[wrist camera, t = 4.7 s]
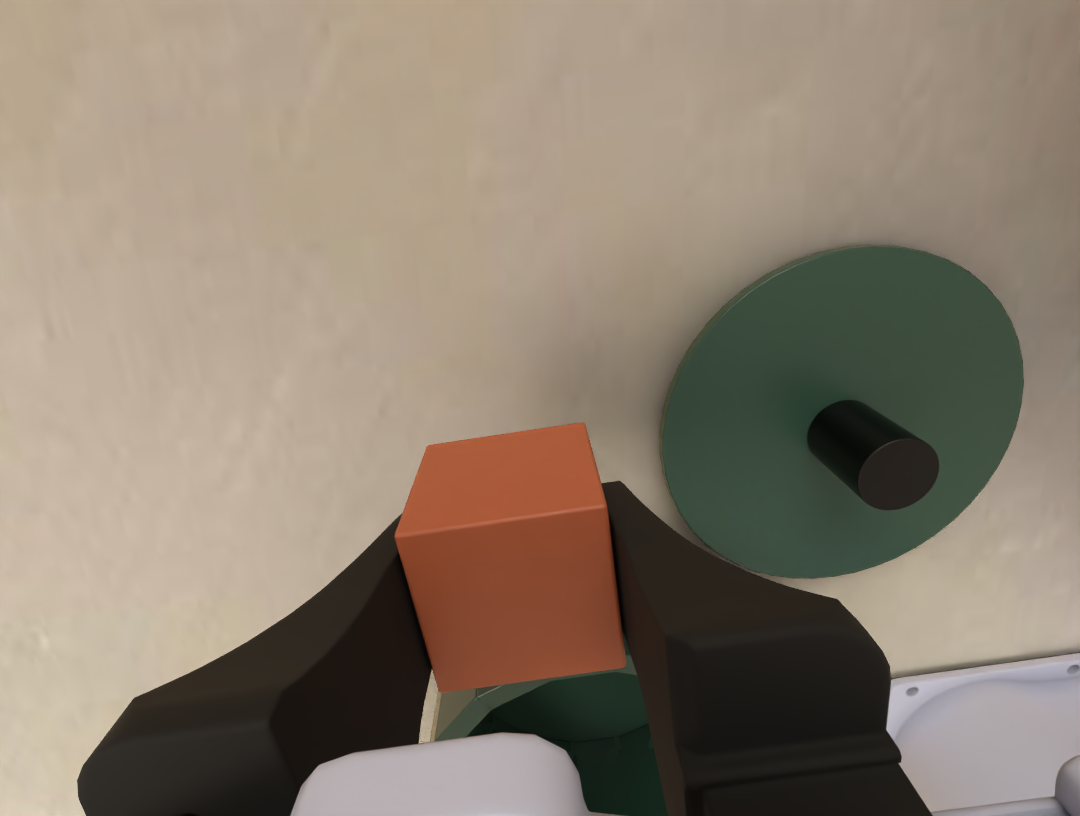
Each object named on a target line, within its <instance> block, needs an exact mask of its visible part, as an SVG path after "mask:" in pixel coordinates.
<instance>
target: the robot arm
mask: <svg viewBox="0 0 1080 816" xmlns="http://www.w3.org/2000/svg"><path fill="white" fill-rule="evenodd" d="M601 484H602V488H603V492H604V496H605V499H606V503H607V507H608V516H609V524H610V532H611V540H612V548H613V557H614V565H615V573H616V581H617V589H618V598H619V606H620V614H621V622H622V630H623V633H624V636H625V639H626V642H627V645H628V648H629V651H630V655H631V658H632V661H633V664H634V667H635V670H636V673H637V677H638V680H639V684H640V688H641V691H642V696H643V701H644V705H645V710H646V714H647V719H648V723H649V728H650V733H651V737H652V742H653V747H654V751H655V756H656V761H657V765H658V770H659V775H660V779H661V784H662V789H663V794H664V799H665V804H666V808H667V813H668V816H1080V653H1075V654H1068V655H1061V656H1054V657H1046V658H1039V659H1032V660H1025V661H1017V662H1010V663H1003V664H996V665H989V666H981V667H974V668H967V669H960V670H952V671H945V672H938V673H931V674H923V675H916V676H909V677H902V678H895V679H892V680H891V675H890V666H889V664H888V661H887V659H886V657H885V655H884V653H883V651H882V650H881V648H880V647H879V646H878V645H877V643H876V642H875V641H874V639H873V638H872V637H871V636H870V634H869V633H868V632H867V631H866V629H865V628H864V627H863V626H862V625H861V624H860V623H859V621H858V620H857V619H856V618H855V617H854V616H853V615H852V614H851V613H850V612H849V611H848V610H847V609H846V608H845V607H844V606H843V605H842V604H841V603H840V601H839V600H837V599H834V598H830V597H826V596H822V595H818V594H814V593H810V592H806V591H803V590H799V589H795V588H791V587H788V586H785V585H782V584H779V583H776V582H773V581H771V580H768V579H765V578H762V577H760V576H757V575H754V574H752V573H749V572H747V571H745V570H742V569H740V568H738V567H736V566H734V565H732V564H729V563H727V562H725V561H723V560H721V559H719V558H717V557H715V556H713V555H712V554H710V553H708V552H706V551H705V550H703V549H701V548H700V547H698V546H696V545H694V544H693V543H691V542H690V541H688V540H687V539H685V538H684V537H682V536H681V535H680V534H678V533H677V532H676V531H674V530H673V529H672V528H670V527H669V526H668V525H667V524H665V523H664V522H663V521H662V520H661V519H660V518H658V517H657V516H656V515H655V514H654V513H653V512H651V511H650V510H649V509H648V508H647V507H646V506H645V505H644V504H643V503H642V502H641V501H640V500H639V499H638V498H637V497H636V496H635V495H634V494H633V493H632V492H631V491H630V490H629V489H628V488H627V487H626V486H625V485H624V484H623V483H622V482H620V481H615V482H608V483H601ZM401 516H402V514H401V515H400V516H399V517H398V518H397V519H396V520H395V521H394V522H392V524H391V525H390V526H389V527H388V528H387V529H386V530H385V531H384V532H383V533H382V534H381V535H380V536H379V537H378V538H377V539H376V540H375V541H374V542H373V543H372V544H371V545H370V546H369V547H368V548H367V549H366V550H365V551H364V552H363V553H362V554H361V555H360V556H359V557H358V558H357V559H356V560H355V561H353V562H352V563H351V564H350V565H349V566H348V567H347V568H346V569H345V570H344V571H342V572H341V573H340V574H339V575H338V576H337V577H336V578H335V579H334V580H332V581H331V582H330V583H329V584H328V585H327V586H326V587H324V588H323V589H322V590H321V591H320V592H318V593H317V594H316V595H315V596H313V597H312V598H311V599H310V600H308V601H307V602H306V603H304V604H303V605H302V606H300V607H299V608H298V609H296V610H295V611H294V612H292V613H291V614H289V615H288V616H287V617H285V618H284V619H282V620H280V621H279V622H277V623H276V624H274V625H273V626H271V627H270V628H268V629H267V630H265V631H263V632H262V633H260V634H259V635H257V636H256V637H254V638H253V639H251V640H250V641H248V642H246V643H244V644H243V645H241V646H239V647H237V648H236V649H234V650H232V651H230V652H229V653H227V654H225V655H223V656H221V657H220V658H218V659H216V660H214V661H212V662H210V663H208V664H206V665H204V666H203V667H201V668H199V669H197V670H195V671H193V672H191V673H188V674H186V675H184V676H182V677H180V678H178V679H175V680H173V681H171V682H169V683H167V684H164V685H162V686H160V687H158V688H156V689H154V690H151V691H149V692H147V693H145V694H142V695H140V696H138V697H135V698H134V699H133V700H132V701H131V703H130V704H129V705H128V707H127V708H126V709H125V711H124V712H123V713H122V715H121V716H120V717H119V719H118V720H117V721H116V723H115V724H114V725H113V727H112V728H111V729H110V731H109V732H108V733H107V734H106V736H105V737H104V738H103V740H102V741H101V742H100V744H99V745H98V746H97V748H96V749H95V750H94V752H93V753H92V754H91V756H90V757H89V758H88V760H87V761H86V762H85V764H84V765H83V767H82V770H81V772H80V775H79V777H78V780H77V783H78V797H79V800H80V803H81V805H82V807H83V809H84V812H85V814H86V816H623V815H614V814H605V813H595V812H589V810H588V809H587V806H586V804H585V801H584V799H583V793H582V787H581V782H580V776H579V772H578V770H577V769H576V767H575V765H574V764H573V762H572V760H571V759H570V757H569V755H568V754H567V752H566V750H564V749H562V748H560V747H558V746H556V745H554V744H552V743H550V742H549V741H547V740H545V739H543V738H541V737H539V736H537V735H535V734H521V733H503V732H502V733H494V734H487V735H480V736H472V737H465V738H457V739H450V740H443V741H435V742H428V743H421V744H418V742H419V733H420V725H421V718H422V712H423V706H424V701H425V696H426V692H427V688H428V683H429V679H430V674H431V670H432V666H431V663H430V659H429V656H428V652H427V649H426V645H425V642H424V638H423V635H422V631H421V628H420V624H419V621H418V617H417V614H416V610H415V607H414V603H413V600H412V596H411V593H410V589H409V586H408V583H407V579H406V576H405V572H404V569H403V565H402V562H401V558H400V555H399V551H398V548H397V544H396V541H395V533H396V530H397V527H398V524H399V522H400V519H401Z"/></svg>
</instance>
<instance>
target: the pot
mask: <svg viewBox="0 0 1080 816" xmlns="http://www.w3.org/2000/svg"><path fill="white" fill-rule="evenodd" d="M622 631H623V630H622ZM623 639H624V647H625V655H626V666H625V667H624V668H620V669H613V670H605V671H598V672H591V673H584V674H576V675H569V676H562V677H555V678H547V679H540V680H533V681H526V682H518V683H511V684H504V685H497V686H489V687H482V688H475V689H468V690H460V691H453V692H446V693H441V692H439V690H438V694H437V700H436V707H435V713H434V719H433V725H432V731H431V737H430V742H435V741H443V740H450V739H457V738H465V737H472V736H480V735H487V734H494V733H502V732H503V733H521V734H535V735H537V736H539V737H541V738H543V739H545V740H547V741H549V742H550V743H552V744H554V745H556V746H558V747H560V748H562V749H564V750H566V752H567V754H568V755H569V757H570V759H571V760H572V762H573V764H574V765H575V767H576V769H577V770H578V772H579V776H580V782H581V787H582V793H583V799H584V801H585V804H586V806H587V809H588V810H589V812H595V813H605V814H614V815H623V816H668V813H667V808H666V804H665V799H664V794H663V789H662V784H661V779H660V775H659V770H658V765H657V761H656V756H655V751H654V747H653V742H652V737H651V733H650V728H649V723H648V719H647V714H646V710H645V705H644V701H643V696H642V691H641V688H640V684H639V680H638V677H637V673H636V670H635V667H634V664H633V661H632V658H631V655H630V651H629V648H628V645H627V642H626V639H625V636H624V633H623Z"/></svg>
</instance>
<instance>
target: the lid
mask: <svg viewBox="0 0 1080 816" xmlns="http://www.w3.org/2000/svg"><path fill="white" fill-rule="evenodd" d="M1023 385H1024V378H1023V360H1022V355H1021V350H1020V345H1019V340H1018V338H1017V335H1016V332H1015V330H1014V327H1013V324H1012V322H1011V320H1010V318H1009V316H1008V315H1007V313H1006V311H1005V310H1004V308H1003V306H1002V304H1001V303H1000V301H999V300H998V299H997V298H996V297H995V296H994V295H993V293H992V292H991V291H990V290H989V289H988V288H987V286H986V285H985V284H983V283H982V282H981V281H980V280H978V279H977V278H976V277H975V276H974V275H972V274H971V273H970V272H969V271H967V270H965V269H964V268H962V267H960V266H958V265H956V264H955V263H953V262H951V261H949V260H947V259H944V258H942V257H939V256H936V255H933V254H931V253H928V252H924V251H919V250H914V249H909V248H904V247H898V246H887V245H859V246H848V247H841V248H836V249H832V250H827V251H823V252H818V253H815V254H812V255H809V256H806V257H804V258H801V259H798V260H795V261H792V262H790V263H788V264H786V265H784V266H782V267H780V268H778V269H776V270H774V271H772V272H770V273H768V274H766V275H765V276H763V277H762V278H760V279H759V280H757V281H756V282H754V283H753V284H751V285H750V286H748V287H747V288H745V289H744V290H742V291H741V292H740V293H739V294H738V295H736V296H735V297H734V298H733V299H732V300H730V301H729V302H728V303H727V304H726V305H724V306H723V307H722V308H721V310H720V311H719V312H718V313H717V314H716V315H715V316H714V317H713V318H712V319H711V320H710V321H709V322H708V323H707V324H706V325H705V327H704V328H703V329H702V331H701V332H700V333H699V335H698V336H697V337H696V339H695V340H694V341H693V343H692V344H691V345H690V347H689V349H688V351H687V352H686V354H685V356H684V357H683V359H682V361H681V363H680V364H679V366H678V368H677V371H676V373H675V375H674V378H673V380H672V382H671V385H670V387H669V390H668V394H667V397H666V401H665V404H664V408H663V413H662V420H661V427H660V456H661V463H662V469H663V474H664V477H665V480H666V484H667V487H668V490H669V492H670V495H671V497H672V499H673V501H674V503H675V505H676V507H677V509H678V511H679V513H680V514H681V516H682V517H683V519H684V520H685V522H686V523H687V524H688V526H689V527H690V529H691V530H692V531H693V532H694V533H695V534H696V535H697V536H698V537H699V538H700V539H701V540H702V541H703V542H704V543H705V544H706V545H708V546H709V547H710V548H712V549H713V550H714V551H715V552H717V553H718V554H720V555H721V556H723V557H725V558H727V559H728V560H730V561H732V562H734V563H736V564H738V565H741V566H743V567H746V568H748V569H751V570H753V571H757V572H761V573H764V574H768V575H772V576H780V577H787V578H810V579H813V578H824V577H834V576H840V575H845V574H850V573H855V572H858V571H861V570H865V569H868V568H871V567H875V566H877V565H880V564H882V563H885V562H887V561H890V560H892V559H894V558H897V557H899V556H901V555H902V554H904V553H906V552H908V551H910V550H912V549H914V548H916V547H917V546H919V545H920V544H922V543H923V542H925V541H927V540H928V539H930V538H931V537H933V536H934V535H936V534H937V533H938V532H939V531H941V530H942V529H943V528H944V527H946V526H947V525H948V524H949V523H951V522H952V521H953V520H954V519H955V518H956V517H957V516H958V515H959V514H960V513H961V512H962V511H963V510H964V509H965V508H966V507H968V506H969V505H970V503H971V502H972V501H973V500H974V499H975V497H976V496H977V495H978V494H979V493H980V492H981V490H982V489H983V488H984V487H985V485H986V484H987V482H988V481H989V479H990V478H991V476H992V475H993V473H994V472H995V470H996V469H997V467H998V466H999V464H1000V462H1001V460H1002V458H1003V456H1004V454H1005V452H1006V450H1007V448H1008V446H1009V444H1010V441H1011V438H1012V436H1013V433H1014V431H1015V428H1016V425H1017V421H1018V417H1019V413H1020V408H1021V404H1022V394H1023Z"/></svg>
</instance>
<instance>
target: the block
mask: <svg viewBox="0 0 1080 816" xmlns="http://www.w3.org/2000/svg"><path fill="white" fill-rule="evenodd" d="M395 541H396V544H397V548H398V551H399V555H400V558H401V562H402V565H403V569H404V572H405V576H406V579H407V583H408V586H409V589H410V593H411V596H412V600H413V603H414V607H415V610H416V614H417V617H418V621H419V624H420V628H421V631H422V635H423V638H424V642H425V645H426V649H427V652H428V656H429V659H430V663H431V666H432V669H433V673H434V676H435V680H436V683H437V687H438V690H439V692H441V693H446V692H453V691H460V690H468V689H475V688H482V687H489V686H497V685H504V684H511V683H518V682H526V681H533V680H540V679H547V678H555V677H562V676H569V675H576V674H584V673H591V672H598V671H605V670H613V669H620V668H624V667H625V666H626V655H625V647H624V639H623V631H622V622H621V614H620V606H619V598H618V589H617V581H616V573H615V565H614V557H613V548H612V540H611V532H610V524H609V516H608V507H607V503H606V499H605V496H604V492H603V488H602V484H601V481H600V477H599V473H598V470H597V466H596V462H595V459H594V455H593V451H592V447H591V444H590V440H589V436H588V433H587V429H586V425H585V424H584V423H574V424H568V425H561V426H554V427H548V428H541V429H534V430H527V431H521V432H514V433H507V434H501V435H494V436H487V437H481V438H474V439H467V440H460V441H454V442H447V443H440V444H434V445H429V446H427V448H426V451H425V453H424V456H423V459H422V461H421V464H420V467H419V470H418V472H417V475H416V478H415V481H414V483H413V486H412V489H411V492H410V494H409V497H408V500H407V502H406V505H405V508H404V511H403V513H402V516H401V519H400V522H399V524H398V527H397V530H396V533H395Z"/></svg>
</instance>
